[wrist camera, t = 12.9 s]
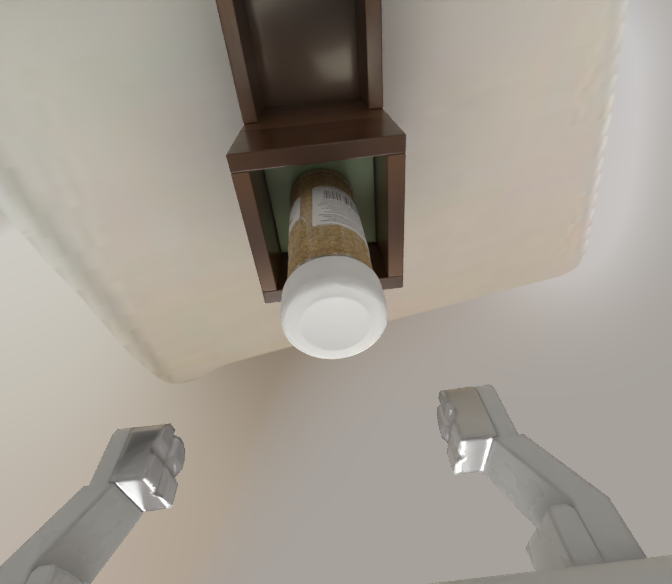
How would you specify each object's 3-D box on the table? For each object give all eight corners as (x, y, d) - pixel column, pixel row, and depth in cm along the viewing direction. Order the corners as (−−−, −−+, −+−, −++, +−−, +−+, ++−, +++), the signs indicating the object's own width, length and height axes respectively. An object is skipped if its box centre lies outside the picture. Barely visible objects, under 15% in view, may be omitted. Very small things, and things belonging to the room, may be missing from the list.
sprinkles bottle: (276, 197, 26) (255, 324, 15) (325, 152, 24) (341, 258, 13) (320, 239, 28) (330, 377, 17) (367, 201, 26) (411, 326, 15)
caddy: (226, -22, 25) (169, -54, 14) (365, -39, 25) (410, -83, 14) (276, 220, 35) (265, 303, 25) (374, 209, 35) (403, 287, 25)
